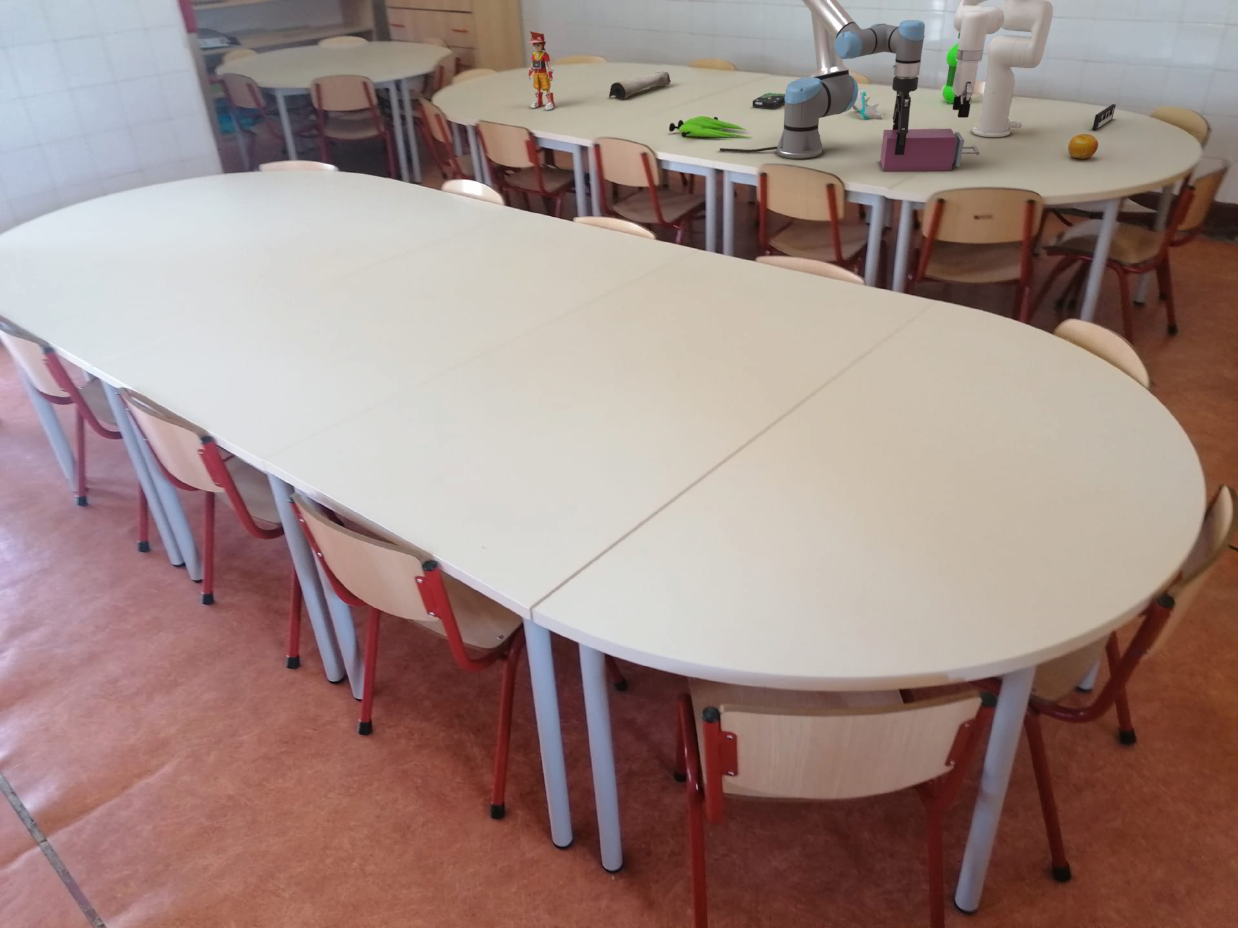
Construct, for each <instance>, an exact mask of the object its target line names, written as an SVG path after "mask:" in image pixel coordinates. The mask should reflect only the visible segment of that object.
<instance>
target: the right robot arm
mask: <svg viewBox="0 0 1238 928" xmlns="http://www.w3.org/2000/svg"><path fill="white" fill-rule="evenodd" d="M986 1H987V0H961V1H960V3H959V5H958V7H957V8H956V12H955V14H954V17H953V18H954V19H953V28H954V29H955V31H957V32H958V33H959V32H960V37H959V38H958V43H959V44H958V50H957V57H956V61H958V63H957V68H956V72H955V78H954V83H953V88H952V90H953V92H954V93H955V96H956V97H954V102H953V103H952V111H958V112H957V118H959V119H961V118H963V119H965V118H966V119H967V118H969V117H970V111H971V105H972V104H971V103H972V96H974V92H975V86H976V80H977V74H978V68H979V67H978V66H979V63H980V62H982V61H983V56H984V51H985V43H986V38H987V35H993V34H995V33H997V32H999V30H1001V29H1003V30H1005V31H1009V32H1010V31H1012V32H1024V33H1031V36H1026V35H1016V34H1015V35H1011V34H1002V35H997V36H995V37H993V39H992V40H990V42H989V44H988V48H987V64H986V65H987V67H986V76H985V81H984V82H985V83H984V88H983V96H982V100H981V106H980V110H979V111H980V112H979V117H978V123H977V126H974V127H973V128H972V134H974V135H976V136H979V137H986V138H1002V137H1007V136H1009V135H1010V134H1011V130H1012V129H1021V128H1022V123H1023V122H1022V121H1021V122H1020V121H1019V122H1017V121H1015V120H1013V121H1010V119H1009V117H1010V110H1011V106H1012V100H1013V95H1014V91H1015V90H1014V89H1015V85H1016V84H1015V83H1016V77H1015V73H1014V71H1013V70H1012V68H1018V69H1019V68H1021V69H1034V68H1037V67H1038V66H1039V65H1040V63H1041V61H1042V59H1043V56H1044V52H1045V48H1046V44H1047V41H1048V36H1049V33H1050V29H1051V25H1052V20H1053V16H1054V15H1053V14H1054V7H1053V3H1052V2H1050V1H1049V0H1004V1H1003V4H1002V8H1000V7H998V6H989V5H988V6H986V5H980V4H981V3H983V2H986Z"/></svg>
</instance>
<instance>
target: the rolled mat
mask: <svg viewBox="0 0 1238 928" xmlns="http://www.w3.org/2000/svg"><path fill="white" fill-rule="evenodd" d="M671 83H672V81H671V77H670V74H669V72H668V71H658V72H654V73H649V74H645V75H640V76H637V77H633V78H628V79H623V80H620V81H616V82H613V83H612V84H611V85H610V89H609V95H608V97H609V98H611V97H616V99H620V100H622V101H623V100H626V99H627V98H629V97H630V96H632V95H635V94H636V93H638V92H640V91H643V90H644V89H647V88H650V87H655V86H658V87H659V86H661V87H665V86H669V85H670V84H671Z"/></svg>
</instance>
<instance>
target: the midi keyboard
mask: <svg viewBox="0 0 1238 928" xmlns="http://www.w3.org/2000/svg"><path fill="white" fill-rule="evenodd" d="M1116 105H1117V104H1114V103H1112V104H1110V105H1109V106H1107V107H1106V108H1104V109H1102V110H1101V111H1100V112H1098V113H1097V114H1095V116H1094V120H1093V124H1092V128H1091V130H1093V131H1096V130H1098V129H1099V128H1100V127H1102V126H1103V125H1105V124H1106V123H1108V122H1109V121H1110V120H1113V118H1114V114H1115V111H1116V107H1117V106H1116Z"/></svg>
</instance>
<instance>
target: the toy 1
mask: <svg viewBox="0 0 1238 928" xmlns="http://www.w3.org/2000/svg"><path fill="white" fill-rule="evenodd" d="M529 33H530V35H531V36H528V37H527V38H528V39H529V40H528V41H527V43H529V44H530V43H531V44H532V48H533V50H534V51H533V52H532V55H531V58H530V59H531V63H530V66H528V74H527V75H528V76H527V77H528V79H529V80H531V75H532V74H533V84H532V85H533V86H532V87H533V88H534V89H535V90H536V92H534V95H535V97H536V100H535V101H533V102H531V105H530V108H531V109H535V108H538V107H542V106H544V101H543V100H544V99H543V95H544V92H546V94H545V97H546V99H547V103H546V104H545V106H544V110H546V111H549V110H553V109H554V107H555V106H556V105H555V99H554V92H551V91H550V90H551V86H552V84H551V82H552V81H553V80H554V77H553V73H554V71H555V70H554V69H552V68H551V63H550V61H551V59H550V58H551V57H550V54H549V53H548V52H547V50H546V48H545V46H546V44H547V41H545V35H544V33H543V32H542V33H539V32H535V31H529Z"/></svg>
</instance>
